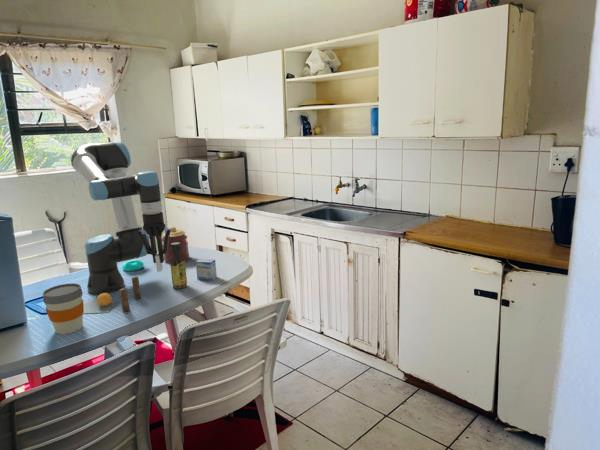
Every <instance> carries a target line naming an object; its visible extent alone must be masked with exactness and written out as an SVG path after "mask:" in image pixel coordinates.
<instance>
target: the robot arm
mask: <svg viewBox="0 0 600 450" xmlns="http://www.w3.org/2000/svg"><path fill="white" fill-rule="evenodd" d="M131 160H132V159H131V156H130V152H129V149H128V148H127V146H126V145H125V143H123V142H122V141H110V142H109V141H108V142H106V141H105V142H99V143H98V142H97V143H96V142H95V143H86V144H83V145H81V146H79V147H78V148H76V149H75V150H74V151H73V153H72V155H71V158H70V163H71V166H72V168H73V169H74V170H75V172H76V173H79V174H81V175H82V177H83V178H84V179H85V180H86V182H87V183H88V191H89V195H90V198H91V199H92V201H105V200H106V201H107V200H111V204H112V208H113V209H112V210H113V213H114V216H115V220H116V226H117V229H116V231H114V232H115V236H113V234H110V233H106V234H99V235H96V236H93V237H91V238H89V239H87V240H86V241H85V243H84V251H85V252H84V253H85V256H86V261H87V267H88V272H89V273H88V281H87V287H86V288H87V292H88V293H89V294H93V295H100V294H102V293H108V294H109V293H112V292H116V291H117V290H120V289H123V287H124V286H125V280H124V278H123V276H122V274H121V272H120V270H119V267H118V263H122V262H125V261H126V262H127V261H131V260H136V259H139V258H143V257H145V256H148V255H151V256H152V261H153V263H154V264H155V266H156V272H157V273H158V272H162V271H163V270H164V267H163V266H164V265H163V263H164V262H165V260H164V254H165V253H166V252H167V251H168V245H169V237H170V233H171V231H172V229H171V228H172V227H170V228H169V227H167V226H166V224H165V220H164V213H163V205H162V197H161V189H160V178H159V175H158V172H157V171H154V170H153V171H152V170H151V171H150V170H148V171H141V172H138V173H137V174H132V175H130V176H127V173H128V171H129V167H131V163H132V161H131ZM138 195H139V201H140V208H141V212H142V223H143V225H142V226H141V225H139V223H138V221H137V216H136V212H135V207H134V203H133V198H132V196H138ZM163 232H164V233H166V234H165V239H164V248H163V241H162V238H163Z"/></svg>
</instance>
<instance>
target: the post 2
mask: <svg viewBox="0 0 600 450" xmlns="http://www.w3.org/2000/svg"><path fill="white" fill-rule="evenodd" d="M131 284H132V290H133V297H134V300H140V299H141V298H142V294H141V288H140V280H139V277H138V276H133V277H131Z"/></svg>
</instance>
